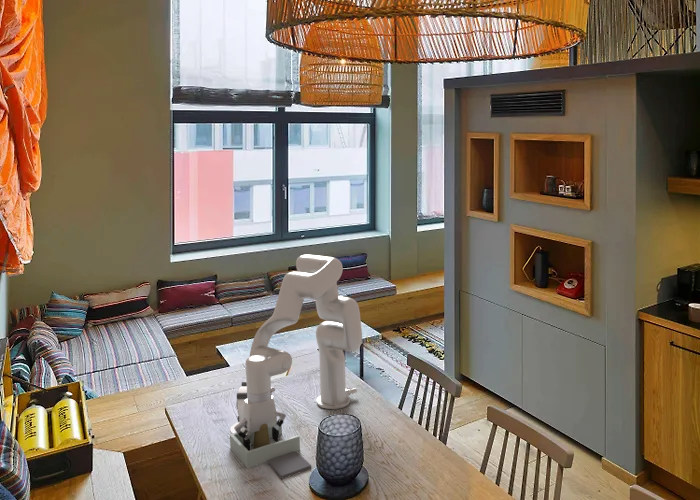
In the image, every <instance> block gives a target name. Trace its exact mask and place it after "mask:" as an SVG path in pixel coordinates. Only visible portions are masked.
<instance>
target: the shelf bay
mask: <svg viewBox="0 0 700 500" xmlns="http://www.w3.org/2000/svg"><path fill="white" fill-rule="evenodd" d="M277 421H278V419H277ZM243 431H244V430H243ZM243 431H241V432H243ZM268 433H269V438H270V439H271V438H272V427H270V428H268ZM282 435H283V424H282V425H281V427H280V430H279V436H282ZM300 437H301V436H300V435H298V434H297V435H294V436H292V437H288V438H284V439H281V440H278V442H275V441H274V442H272V443H270V444H269V445H265V446H262V447H259V448H256V449H253V448H252V449H251V450H250V451H248V450H247V449H246V448H245V447H244V446H243V438H242V437H240V436H239V435H238V434H237V433H233V434H232V433H230V434H229V445H230V450H231V451H232V452H233V453H234V455H235V456H236V457H237V458H238V459H239V460H240V461H241V463H242V464H243V465H244V466H245V467H246V468H247V469H251V468H253V467H256V466H259V465H262V464H265V463H267V461H268V460H271V459H274V458H277V457H280V456H283V455H286V454H289V453H292V452H295V451H296V452H297V453H299V452H300V451H301V439H300ZM249 439H250V445H253V443H254V432H253V433H251V435H250V436H249Z"/></svg>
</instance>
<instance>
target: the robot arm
mask: <svg viewBox="0 0 700 500" xmlns="http://www.w3.org/2000/svg"><path fill="white" fill-rule="evenodd" d="M295 268H296V271H290V272H287V273H286V274H285V275H284V277H283V279H282V281H281V285H280V289H279V293H278V296H277V300H276V304H275V307H274V310H273V314H272V315H271V316H270V317H269V318H268V319H266V321H265V322H264V323H263V324H262V325H261V326H260V327H259V328H258V329H257V331H256V332H255V334H254V337H253V341H252V343H251V347H250V351H249V357H247V358H246V360H245V376H246V377H245V378H246V380H245V382H246V383H247V399H245V402H244V409H243V421H241V422H240V423H239V424H238V425H236V426H235V427H234V429H235V431H236V432H237V434H238V435H239V436H240V437H242V438H243V446H244V447H245V448H246V449H247V450H248V451H250V450H252V449H251V444H250V439H249V436H250V435H251V433H253V432H257V431H260V426H261V425H262V424H267V425H268V428H270V427H272V440H273V441H274V443H275V442H278V441H279V438H280V435H279V430H280V427H281V425H282V426H283V424H284V421H285V418H286V416H287V414H286V413H284V412H281V411H279V410H278V411H277V408H276V402H275V398H274V396H273V392H275V391H276V389H275V387H272V384H271V383H272V381H271V378H272V377H275V376H278V375H282V374H284V373H286V372H288V371H289V370H290V368H291V366H292V364H293V357H292V355H291V354H290V353H289V352H288V351H285V350H282V349H278V348H274V347H268V346H269V344H270V341H271V338H273V336H274V335H275V334H276V333H277V332H278V331H279V330H281V329H283V328H286V327H289V326H292V325H295V324H296V323H297V322H298V321H299V319H300V315H301V311H302V307H303V304H304V300H305V299H306V300H307V299H308V300H313V301H314V300H315V307H316V313H317V315H318V317H319V319H322V320H323V321H322V322H320V323H319V324H318V325H317V327H316V330H315V339H316V343H317V347H318V353H319V355H318V356H319V357H318V358H319V378H320V379H319V380H320V382H319V383H320V395H319V396H318V397H317V398H316V404H317V406H319V407H320V408H323V409H326V410H327V409H328V410H338V409H342V408H345V407H347V406H349V404H350V403H351V398H350V396H351V394H352V395H353V394H356V393H357V392H358V390H357V387H353V388H351V387H349V386H348V387H346V384H347V383H346V357H345V353H344V351H346V352H355V351H357V350H359V348H361V345H362V342H363V332H362V331H363V329H362V321H361V312H360V306H359V304H358V302H357V301H356V300H355V299H354V298H351V297H347V296H342V295H340V294H339V293H340V292H339V290H338V285H337V282H338V281H339V280H340V278H341V276H342V274H343V268H344V267H343V264H342V262H341V260H340V259H338V258H336V257H332V256H326V255H325V256H324V255H317V254H302V255H300V256H298V257H297V258H296V261H295ZM278 417H279V418H278ZM277 420H278V421H277ZM242 427H244V428H245V430H244V431H243V432H241V428H242Z"/></svg>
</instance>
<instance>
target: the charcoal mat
mask: <svg viewBox="0 0 700 500" xmlns="http://www.w3.org/2000/svg"><path fill="white" fill-rule="evenodd" d="M266 464H267V465H268V467H270V469H271V470H272V471H273V472H274V473H275V474H276V475H277V476H278V478H280V479H281V480H283V479H285V478H288V477H291V476H293V475H297V474H299V473H302V472H305V471H308V470H311V469H312V465H311V464H310V463H309V461H307V460H306V459H305V458H304V457H303V456H302V455H301V454H300V453H299V452H296V451H295V452H292V453H289V454H286V455H283V456H280V457H277V458H274V459H271V460H268V461H267V462H266Z"/></svg>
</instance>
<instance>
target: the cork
mask: <svg viewBox="0 0 700 500" xmlns="http://www.w3.org/2000/svg"><path fill="white" fill-rule="evenodd" d="M269 444H271V438H269V433H268V425H267V424H262V425H261V426H260V431H257V432H254V443H253V444H252V445H253V446H252V450H253V449H256V448H259V447H262V446H265V445H269Z"/></svg>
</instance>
